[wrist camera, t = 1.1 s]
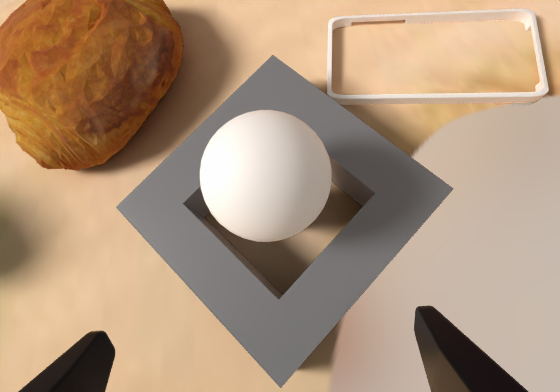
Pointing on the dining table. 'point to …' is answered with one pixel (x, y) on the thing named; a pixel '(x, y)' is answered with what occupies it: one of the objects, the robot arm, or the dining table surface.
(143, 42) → the croissant
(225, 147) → the lightbulb
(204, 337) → the dining table surface
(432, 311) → the robot arm
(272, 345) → the socket block
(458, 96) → the phone case
